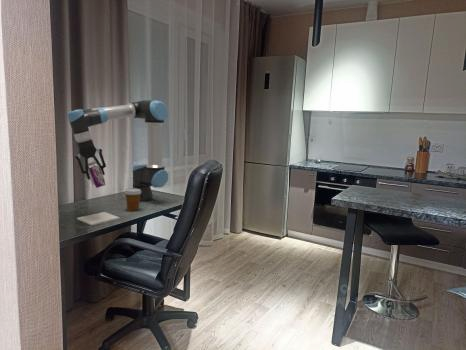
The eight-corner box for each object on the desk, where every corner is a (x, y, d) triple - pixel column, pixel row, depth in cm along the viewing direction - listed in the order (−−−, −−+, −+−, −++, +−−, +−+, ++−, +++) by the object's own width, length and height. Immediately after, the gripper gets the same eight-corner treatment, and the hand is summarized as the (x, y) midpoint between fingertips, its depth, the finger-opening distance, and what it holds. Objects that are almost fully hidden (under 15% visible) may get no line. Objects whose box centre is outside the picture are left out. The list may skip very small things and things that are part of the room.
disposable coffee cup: (123, 211, 191) (123, 191, 189) (125, 207, 200) (125, 188, 198) (140, 211, 193) (140, 191, 191) (141, 207, 202) (142, 188, 200)
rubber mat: (104, 213, 186) (104, 211, 186) (119, 218, 178) (119, 217, 178) (76, 219, 174) (76, 217, 173) (91, 225, 165) (91, 223, 165)
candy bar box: (99, 164, 167) (94, 160, 181) (89, 167, 164) (85, 163, 178) (106, 185, 170) (101, 179, 184) (96, 188, 168) (92, 182, 182)
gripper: (66, 145, 163) (81, 189, 169) (103, 136, 170) (116, 178, 177) (65, 144, 169) (80, 187, 176) (100, 135, 177) (114, 176, 184)
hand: (98, 182), depth 176 cm, fingers closed on candy bar box, 5 cm apart
